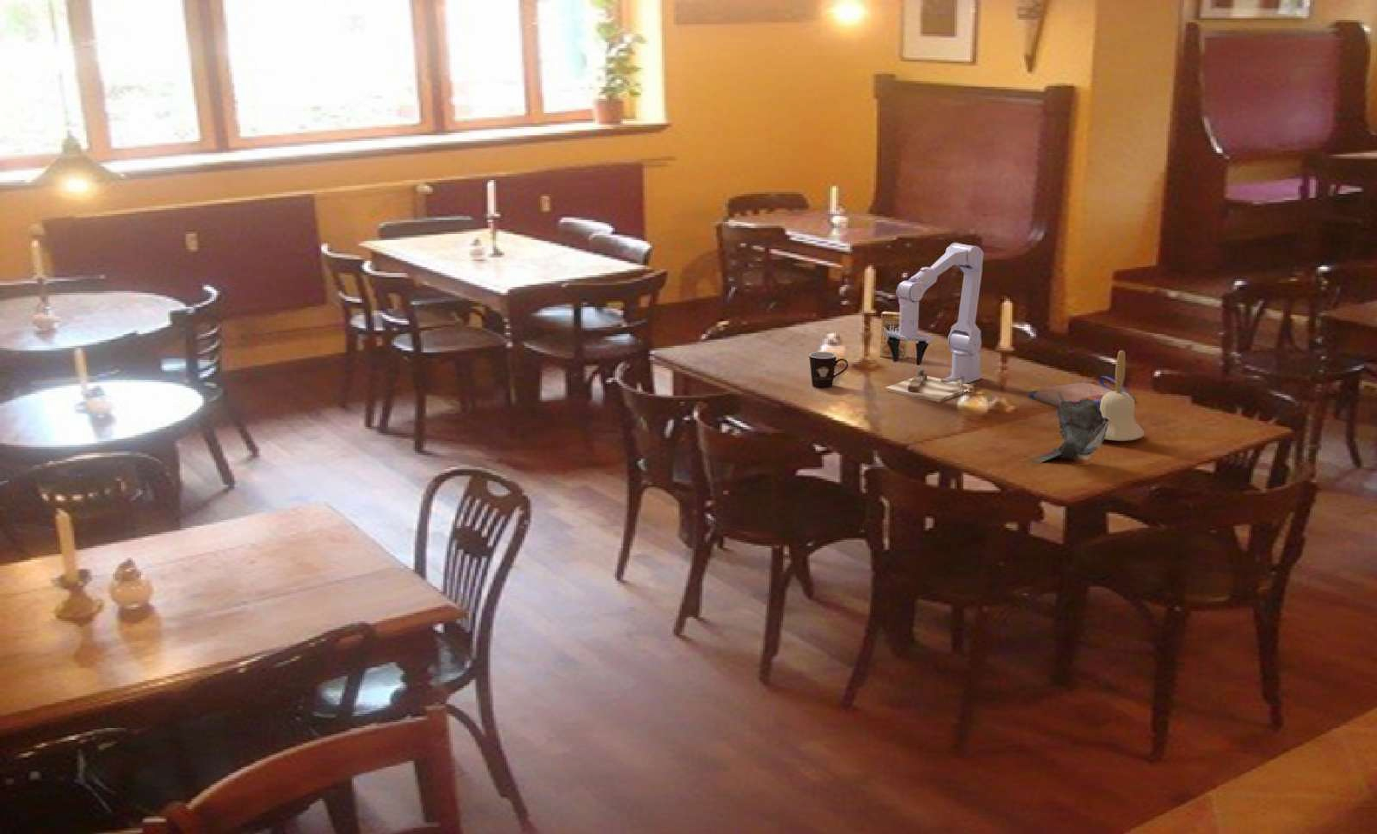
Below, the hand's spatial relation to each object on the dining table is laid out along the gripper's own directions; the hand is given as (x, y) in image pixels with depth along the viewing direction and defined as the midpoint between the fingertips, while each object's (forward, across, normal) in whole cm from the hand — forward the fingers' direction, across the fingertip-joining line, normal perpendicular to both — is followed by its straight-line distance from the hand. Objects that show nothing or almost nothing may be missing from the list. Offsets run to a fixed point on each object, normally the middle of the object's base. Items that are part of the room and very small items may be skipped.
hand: (907, 362), depth 432 cm
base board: (+10, +5, +7) cm, 13 cm away
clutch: (+10, +50, +20) cm, 55 cm away
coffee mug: (+10, -25, -5) cm, 27 cm away
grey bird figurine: (+10, +65, -40) cm, 77 cm away
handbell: (+10, +68, -13) cm, 70 cm away
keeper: (+10, +11, +9) cm, 18 cm away
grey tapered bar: (+9, +1, +7) cm, 11 cm away
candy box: (+10, -22, +40) cm, 47 cm away
